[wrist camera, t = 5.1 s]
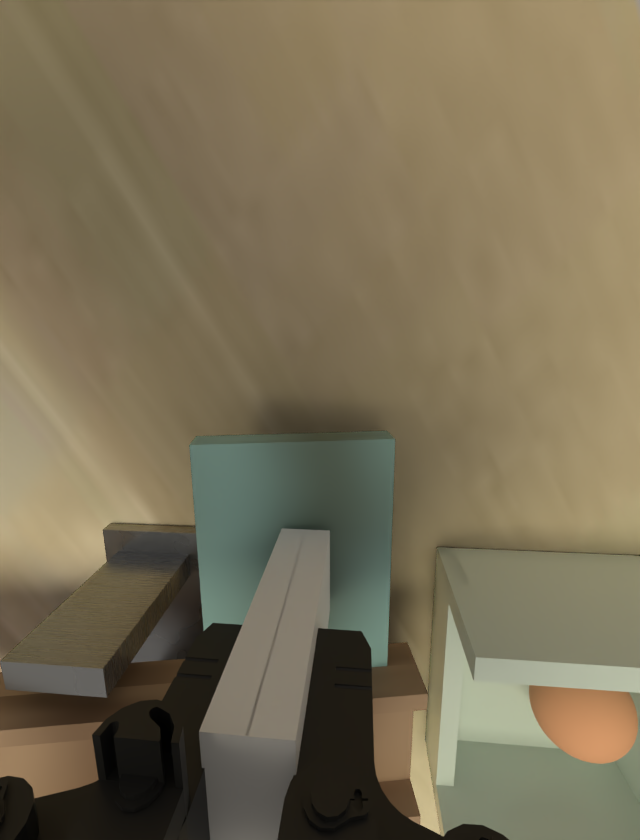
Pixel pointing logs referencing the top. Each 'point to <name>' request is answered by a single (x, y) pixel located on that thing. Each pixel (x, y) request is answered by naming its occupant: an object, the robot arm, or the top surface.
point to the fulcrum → (116, 616)
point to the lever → (236, 586)
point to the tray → (509, 690)
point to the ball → (586, 721)
